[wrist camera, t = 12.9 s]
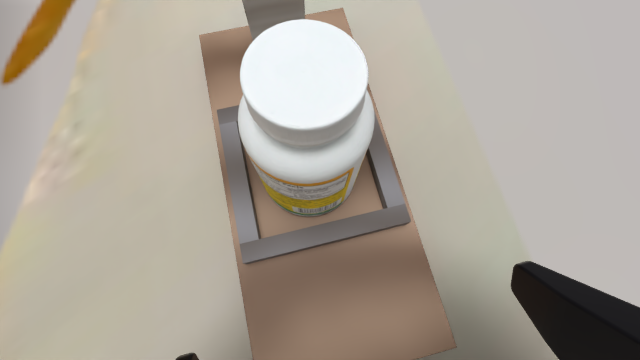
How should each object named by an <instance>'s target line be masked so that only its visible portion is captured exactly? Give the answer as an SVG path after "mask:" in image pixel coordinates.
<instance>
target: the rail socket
mask: <svg viewBox="0 0 640 360" xmlns="http://www.w3.org/2000/svg"><path fill="white" fill-rule="evenodd" d="M242 1H243V5H244V9H245V13H246V17H247V20H248V24H249V26H245V27H239V28H234V29H229V30H224V31H218V32H213V33H208V34H202V35H199V37H200V43H201V49H202V56H203V62H204V68H205V74H206V80H207V86H208V92H209V98H210V104H211V110H212V116H213V122H214V128H215V134H216V140H217V146H218V152H219V158H220V164H221V170H222V176H223V182H224V188H225V194H226V200H227V206H228V212H229V218H230V224H231V230H232V236H233V242H234V248H235V254H236V260H237V266H238V272H239V278H240V284H241V290H242V296H243V302H244V308H245V314H246V320H247V326H248V332H249V338H250V344H251V350H252V356H253V360H415V359H418V358H422V357H425V356H429V355H432V354H436V353H439V352H443V351H446V350H450V349H453V348H457V347H456V344H455V341H454V338H453V335H452V332H451V329H450V326H449V323H448V320H447V317H446V314H445V311H444V308H443V305H442V302H441V299H440V296H439V293H438V290H437V287H436V284H435V281H434V278H433V275H432V272H431V269H430V266H429V263H428V260H427V257H426V254H425V251H424V248H423V245H422V242H421V239H420V236H419V233H418V230H417V227H416V224H415V221H414V219H413V216H412V213H411V210H410V207H409V204H408V201H407V198H406V195H405V192H404V189H403V186H402V183H401V180H400V177H399V174H398V171H397V168H396V165H395V162H394V159H393V156H392V153H391V150H390V147H389V144H388V141H387V138H386V135H385V132H384V129H383V126H382V123H381V120H380V117H379V114H378V111H377V108H376V105H375V102H374V99H373V96H372V93H371V90H370V87H369V84H368V86H367V91H368V93H369V95H370V98H371V100H372V104H373V108H374V117H375V121H374V130H373V135H372V139H371V142H370V144H369V147H368V149H367V152H366V155H365V157H364V160H363V162H362V165H361V167H360V170H359V173H358V175H357V178H356V180H355V183H354V186H353V188H352V190H351V192H350V194H349V196H348V197H347V199H346V200H345V201H344V202H343V203H342V204H341V205H340V206H339V207H337V208H336V209H334V210H333V211H331V212H329V213H326V214H323V215H319V216H312V217H306V216H299V215H295V214H292V213H289V212H287V211H286V210H284V209H282V208H281V207H279V206H278V205H277V204H276V203H275V202H274V201H273V200H272V199H271V197H270V196H269V194H268V193H267V191H266V189H265V187H264V185H263V183H262V181H261V179H260V177H259V175H258V173H257V171H256V169H255V167H254V165H253V163H252V162H251V159H250V158H249V156H248V154H247V151H246V150H245V147H244V145H243V143H242V140H241V137H240V133H239V128H238V111H239V105H240V101H241V98H242V96H243V92H242V88H241V83H240V68H241V63H242V59H243V57H244V54H245V52H246V50H247V49H248V47H249V46H250V44H251V43H252V42H253V41H254V40H255V39H256V38H257V37H258V36H259V35H260V34H261V33H262V32H264V31H265V30H267V29H269V28H270V27H273V26H275V25H277V24H280V23H283V22H286V21H291V20H299V19H308V20H316V21H321V22H325V23H328V24H331V25H333V26H335V27H337V28H339V29H341V30H343V31H344V32H345V33H347V34H348V35H349V36H351V38H352V39H353V37H352V34H351V31H350V28H349V25H348V22H347V19H346V16H345V13H344V10H343V8H340V9H334V10H329V11H324V12H319V13H313V14H308V15H305V8H304V0H242Z"/></svg>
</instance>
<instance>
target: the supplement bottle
mask: <svg viewBox="0 0 640 360" xmlns="http://www.w3.org/2000/svg"><path fill="white" fill-rule="evenodd" d="M368 76H369V75H368V66H367V62H366V59H365V56H364V54H363V52H362V50H361V48H360V47H359V45H358V44H357V43H356V42H355V40H353V39H352V38H351V36H349V35H348V34H347V33H345V32H344V31H343V30H341V29H339V28H337V27H335V26H333V25H331V24H328V23H325V22H321V21H316V20H308V19H299V20H291V21H286V22H283V23H280V24H277V25H275V26H273V27H270V28H269V29H267V30H265V31H264V32H262V33H261V34H260V35H259V36H258V37H257V38H256V39H255V40H254V41H253V42H252V43H251V44H250V46H249V47H248V49H247V50H246V52H245V54H244V57H243V59H242V63H241V68H240V83H241V88H242V92H243V96H242V98H241V101H240V105H239V111H238V128H239V133H240V137H241V140H242V143H243V145H244V147H245V150H246V151H247V154H248V156H249V158H250V159H251V162H252V163H253V165H254V167H255V169H256V171H257V173H258V175H259V177H260V179H261V181H262V183H263V185H264V187H265V189H266V191H267V193H268V194H269V196H270V197H271V199H272V200H273V201H274V202H275V203H276V204H277V205H278V206H279V207H281V208H282V209H284V210H286V211H287V212H289V213H292V214H295V215H299V216H306V217H312V216H319V215H323V214H326V213H329V212H331V211H333V210H334V209H336V208H337V207H339V206H340V205H341V204H342V203H343V202H344V201H345V200H346V199H347V197H348V196H349V194H350V192H351V190H352V188H353V186H354V183H355V180H356V178H357V175H358V173H359V170H360V167H361V165H362V162H363V160H364V157H365V155H366V152H367V149H368V147H369V144H370V142H371V139H372V135H373V130H374V121H375V117H374V108H373V104H372V100H371V98H370V95H369V93H368V91H367V86H368Z"/></svg>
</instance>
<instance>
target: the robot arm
mask: <svg viewBox="0 0 640 360" xmlns="http://www.w3.org/2000/svg"><path fill="white" fill-rule="evenodd" d="M511 289H512V291H513V293H514V295H515V296H516V298H517V300H518V301H519V303H520V304H521V306H522V307H523V309H524V310H525V312H526V313H527V315H528V316H529V318H530V319H531V321H532V322H533V324H534V325H535V327H536V328H537V330H538V331H539V333H540V334H541V336H542V337H543V339H544V340H545V342H546V343H547V344H548V346H549V347H550V348H551V350H552V351H553V352H554V353H555V355H556V356H557V357H558V358H559V360H640V307H637V306H635V305H632V304H630V303H628V302H625V301H623V300H621V299H618V298H616V297H614V296H611V295H609V294H607V293H604V292H602V291H600V290H597V289H595V288H592V287H590V286H588V285H585V284H583V283H581V282H578V281H576V280H574V279H571V278H569V277H567V276H564V275H562V274H559V273H557V272H555V271H553V270H550V269H548V268H545V267H543V266H541V265H538V264H536V263H534V262H531V261H525V262H522V263H518V264H515V266H514V267H513V273H512V280H511ZM176 360H199V359H198V357H197V355H196V354H195V353H188V354H185V355H181V356H179V357H178V358H177V359H176Z"/></svg>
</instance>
